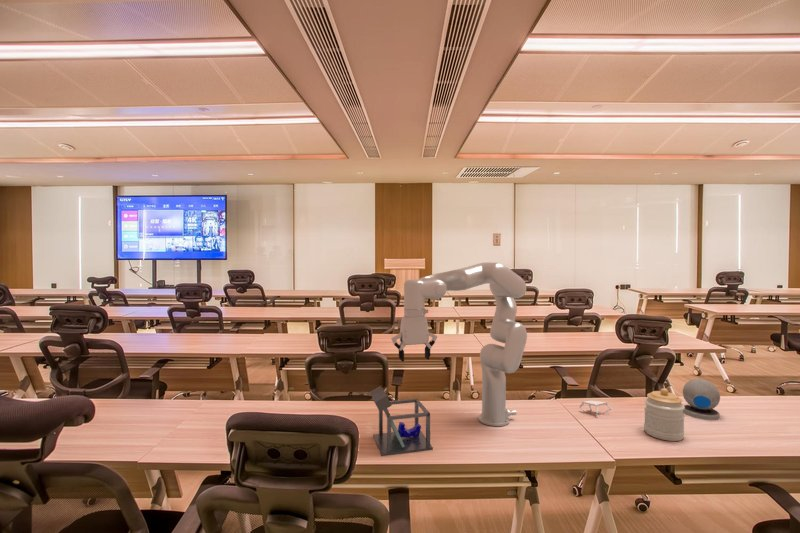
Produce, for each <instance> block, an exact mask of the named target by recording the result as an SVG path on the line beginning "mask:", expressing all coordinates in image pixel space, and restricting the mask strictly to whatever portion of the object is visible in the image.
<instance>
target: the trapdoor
mask: <svg viewBox="0 0 800 533" xmlns="http://www.w3.org/2000/svg"><path fill="white" fill-rule="evenodd" d="M369 394H370V396H371V398H372V400H373V402H374V404H375V406H376V408H377V409H378V412H379V411H380V412H381V411H383V413H384V414H385V417H386V418H387V416H391V414H390V410H389V408H390V407H391V406H392V405H391V403H390V401H391V400H390V399H389V396H388V395H387V393H386V392H385V390H384V389H383V388H382V385H379V386H378V387H376V388H373V389H372V390H371V391H369ZM391 430H392V432H394V434H395V435H396V437H397V439H398V441H399V442H400V444H401V446H402V448H403V447H405V445H404V443H403V441H402V439H401V437H400V435H399V432H398V427H397V426H396V424H395V421H394V420H391Z"/></svg>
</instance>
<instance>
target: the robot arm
mask: <svg viewBox="0 0 800 533" xmlns="http://www.w3.org/2000/svg"><path fill="white" fill-rule="evenodd" d="M485 284H486V285H487V284H489V290H490V292H491V294H492V295H493V297H494V299H495V304H496V306H495V311H494V315H493V318H492V323H491V326H490V330H489V336H490V337H491V339H492V340H494V341H496V342H499V343H502V344H504V346H503V345H500V344H496V343H487V344H485V345H483V346H482V347H481V350H480V352H479V360H480V366H481V376H482V377H481V378H482V380H481V388H482V389H481V413H480V414H478V417H477V419H478V421H479V422H480V423H481V424H483V425H486V426H491V427H503V426H506V425H508V424H510V416H517V410H515V409H512V410H511V409H510V408H507V407H506V403H507V401H506V400H507V399H506V397H507V396H506V395H507V387H506V386H507V378H506V374H513V373H515V372H516V371H517V370H518V369H519V367H520V365H521V362H522V358H523V355H524V352H525V347H526V344H527V339H528V332H527V329H526V327H525V326H524V324H522V323H521V322H518V321H516V317H517V312H518V308H517V303H516V302H517V301H516V300H515V299H520V298H522V297H523V296H525V294H526V292H527V284H526V282H525V280H524V279H523V278H522V276H520V275H518V274H517V273H515V271H513V270H512V269H511V268H510V267H508V266H506V265H504V264H503V263H500V262H491V261H490V262H479V263H475V264H473V265H469V266H465V267H461V268H458V269H453V270H448V271H443V272H438V273H433V274H430V275H426V276H423V277H420V278H418V279H406V280H405V281H404V282H403V297H404V298H403V313H404V314H403V316H401V321H400V329H399V333H398V334H396V335H394V336H393V337H391V339H390V340H391V342H392V343H393V345H394V346H395V347H396V348H397V350H398V359H399V360H400V361H401V362H404V361H405V350H404V348H405V347H406V346H414V345H415V346H417V345H424V346H425V347H424V358H425V359H426V360H430V357H431V349H432V347H433V345H435V343H436V341H437V338H438V336H437V335H436V334H434V333H432V332H430V331H429V325H428V319H427V316H426V314H429V309H426V308H425V304H426V302H425V299H431V300H438V299H439V300H440V299H442V298H443V297H444V296H445V295H446V293H447V292H448V291H455V292H456V291H465V290H469V289H472V288H475V287H479V286H481V285H485ZM430 337H431V340H429V338H430ZM397 340H399V342H400V343H398V341H397ZM506 408H507V409H506Z"/></svg>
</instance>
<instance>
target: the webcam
mask: <svg viewBox="0 0 800 533" xmlns="http://www.w3.org/2000/svg"><path fill="white" fill-rule="evenodd" d="M682 395H683V398H684V400H685V402H686V403H687V404H685V405H684V404H683V405H684V406H685V409H684V410H683V414H684V415H687V416H690V417H692V418H696V419H699V420H700V419H701V420H707V421H710V420H712V421H714V420H716V421H717V420H718V419H720V417H721V416H720V412H719V411H717V410H716V409H715V408H716V407H718V405H719V403H720V400H721V394H720V391H719V390H718V388H717V387H716V386H715V385H714V383H712V382H710V381H709V380H706V379H702V378H694V379H691V380H689V381H687V382H686V383H685V384H684V385H683V388H682Z"/></svg>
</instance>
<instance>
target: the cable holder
mask: <svg viewBox="0 0 800 533" xmlns="http://www.w3.org/2000/svg"><path fill="white" fill-rule="evenodd" d="M421 429H422V426H421V424H420V423H419V424H415V423H414V426H412V428H410V429H409V428H406V424H405V423H404V422H403V421H402V422H401V421H399V423H398V427H397V430H398V432H399V435H400V437H406V438H410V436H417V437H419V433H420V430H421Z"/></svg>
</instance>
